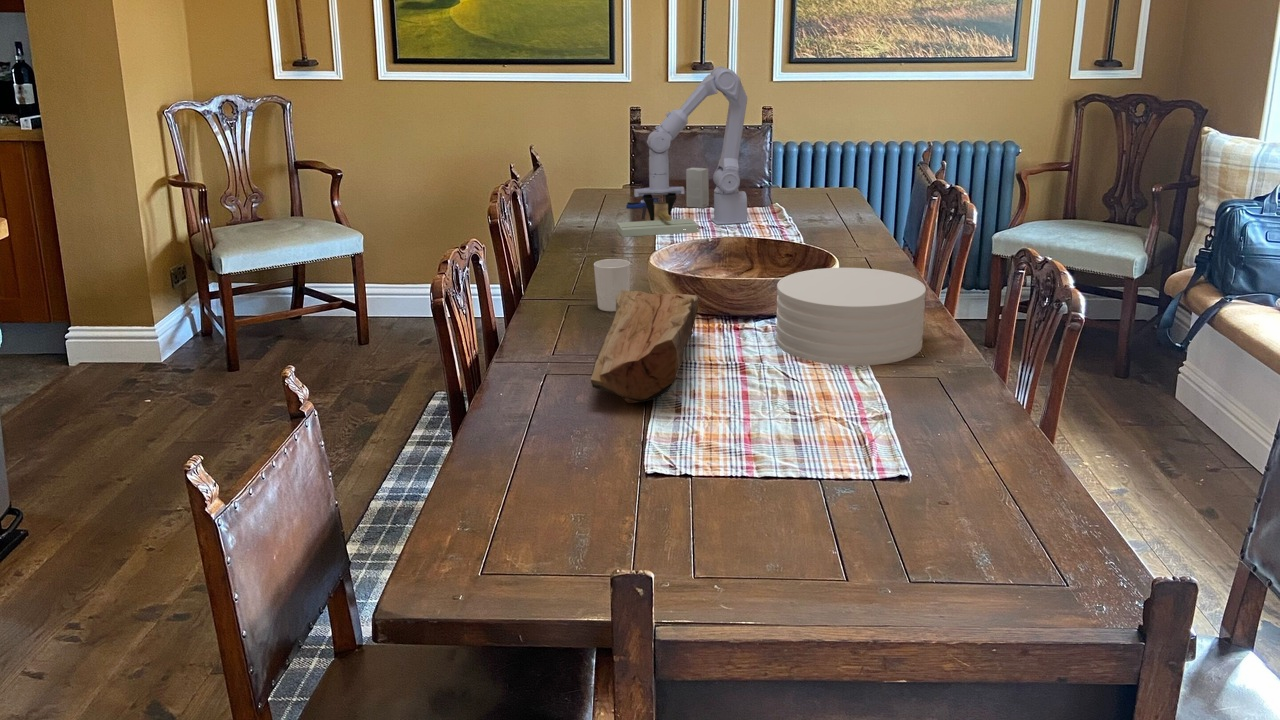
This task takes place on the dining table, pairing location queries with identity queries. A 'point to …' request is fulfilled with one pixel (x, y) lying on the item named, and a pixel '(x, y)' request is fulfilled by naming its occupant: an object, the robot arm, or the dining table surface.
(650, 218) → the robot arm
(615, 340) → the log
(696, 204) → the skincare box
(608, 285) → the white cup
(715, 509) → the dining table surface
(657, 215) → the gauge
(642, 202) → the bar clamp
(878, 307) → the plate stack
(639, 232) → the board
